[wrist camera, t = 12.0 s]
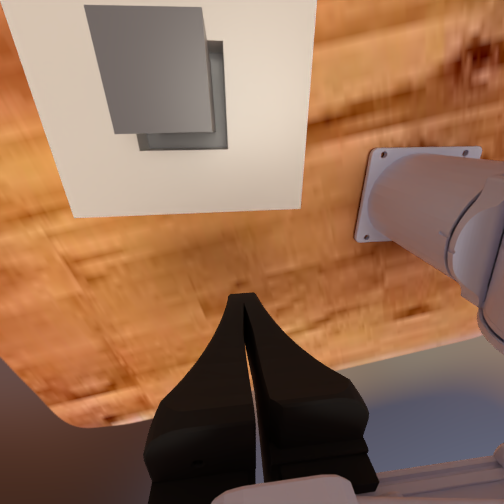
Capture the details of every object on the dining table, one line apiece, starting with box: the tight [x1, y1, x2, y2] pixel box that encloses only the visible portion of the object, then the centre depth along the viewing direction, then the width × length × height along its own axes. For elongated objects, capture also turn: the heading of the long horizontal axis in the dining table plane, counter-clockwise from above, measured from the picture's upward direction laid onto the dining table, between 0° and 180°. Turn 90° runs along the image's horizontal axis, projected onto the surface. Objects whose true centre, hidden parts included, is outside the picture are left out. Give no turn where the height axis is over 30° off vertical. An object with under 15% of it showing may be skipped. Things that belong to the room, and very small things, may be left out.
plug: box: [84, 5, 216, 134], centre depth 13 cm, size 4×4×8 cm
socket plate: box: [0, 0, 317, 218], centre depth 16 cm, size 16×14×2 cm
